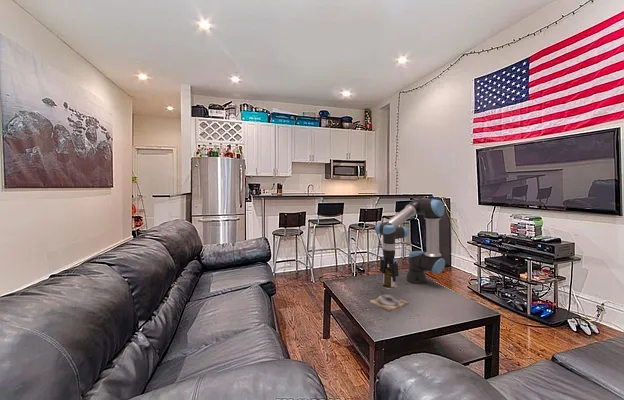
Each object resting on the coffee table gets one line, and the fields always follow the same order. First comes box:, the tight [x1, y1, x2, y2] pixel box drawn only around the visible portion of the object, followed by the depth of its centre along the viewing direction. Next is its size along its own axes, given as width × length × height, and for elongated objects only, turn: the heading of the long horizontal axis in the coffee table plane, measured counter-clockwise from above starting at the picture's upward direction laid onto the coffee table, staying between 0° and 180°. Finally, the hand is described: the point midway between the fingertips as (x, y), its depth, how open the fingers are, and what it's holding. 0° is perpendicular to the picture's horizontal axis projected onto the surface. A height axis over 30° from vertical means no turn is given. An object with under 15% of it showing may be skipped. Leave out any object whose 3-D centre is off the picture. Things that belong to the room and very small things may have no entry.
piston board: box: [369, 293, 409, 312], centre depth 183 cm, size 18×16×3 cm
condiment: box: [380, 266, 398, 290], centre depth 182 cm, size 7×8×12 cm
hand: (388, 284), depth 182 cm, fingers closed on condiment, 6 cm apart
